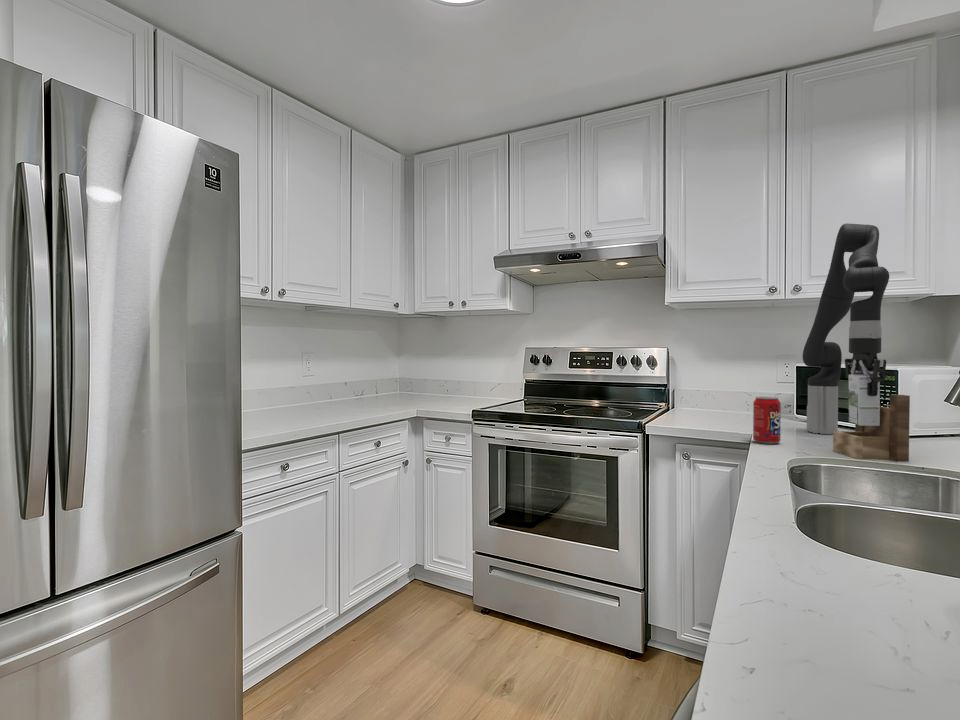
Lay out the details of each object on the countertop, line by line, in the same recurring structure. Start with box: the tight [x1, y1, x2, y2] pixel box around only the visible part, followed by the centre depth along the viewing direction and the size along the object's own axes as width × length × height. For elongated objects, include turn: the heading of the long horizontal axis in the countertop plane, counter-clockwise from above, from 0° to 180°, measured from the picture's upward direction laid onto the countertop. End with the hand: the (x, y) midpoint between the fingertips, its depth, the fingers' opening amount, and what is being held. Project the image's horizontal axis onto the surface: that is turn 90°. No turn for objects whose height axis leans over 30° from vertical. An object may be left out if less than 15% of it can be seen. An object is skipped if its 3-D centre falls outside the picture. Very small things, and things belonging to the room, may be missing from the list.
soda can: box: [752, 396, 782, 445], centre depth 168 cm, size 8×8×15 cm
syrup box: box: [848, 373, 881, 426], centre depth 148 cm, size 6×6×14 cm
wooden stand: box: [832, 394, 911, 462], centre depth 148 cm, size 17×12×18 cm
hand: (864, 394), depth 148 cm, fingers closed on syrup box, 6 cm apart
